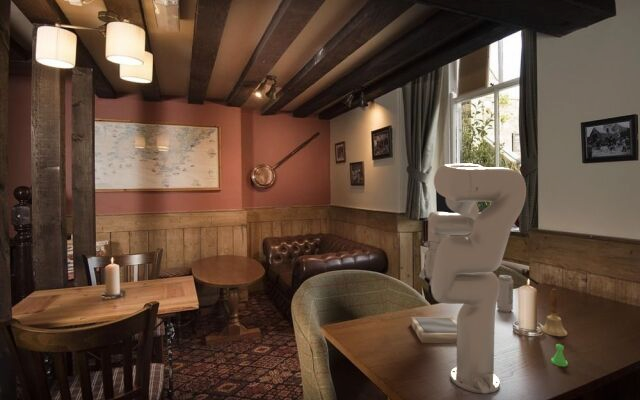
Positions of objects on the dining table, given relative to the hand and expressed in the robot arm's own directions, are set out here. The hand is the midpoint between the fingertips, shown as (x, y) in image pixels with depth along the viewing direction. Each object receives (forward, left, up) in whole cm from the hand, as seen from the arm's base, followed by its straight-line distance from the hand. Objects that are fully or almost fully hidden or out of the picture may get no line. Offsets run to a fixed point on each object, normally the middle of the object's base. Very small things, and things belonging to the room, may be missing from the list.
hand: (438, 294), depth 132 cm
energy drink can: (+23, -36, -14) cm, 45 cm away
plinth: (0, 0, -14) cm, 14 cm away
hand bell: (+1, -43, -15) cm, 45 cm away
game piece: (-22, -30, -14) cm, 40 cm away
